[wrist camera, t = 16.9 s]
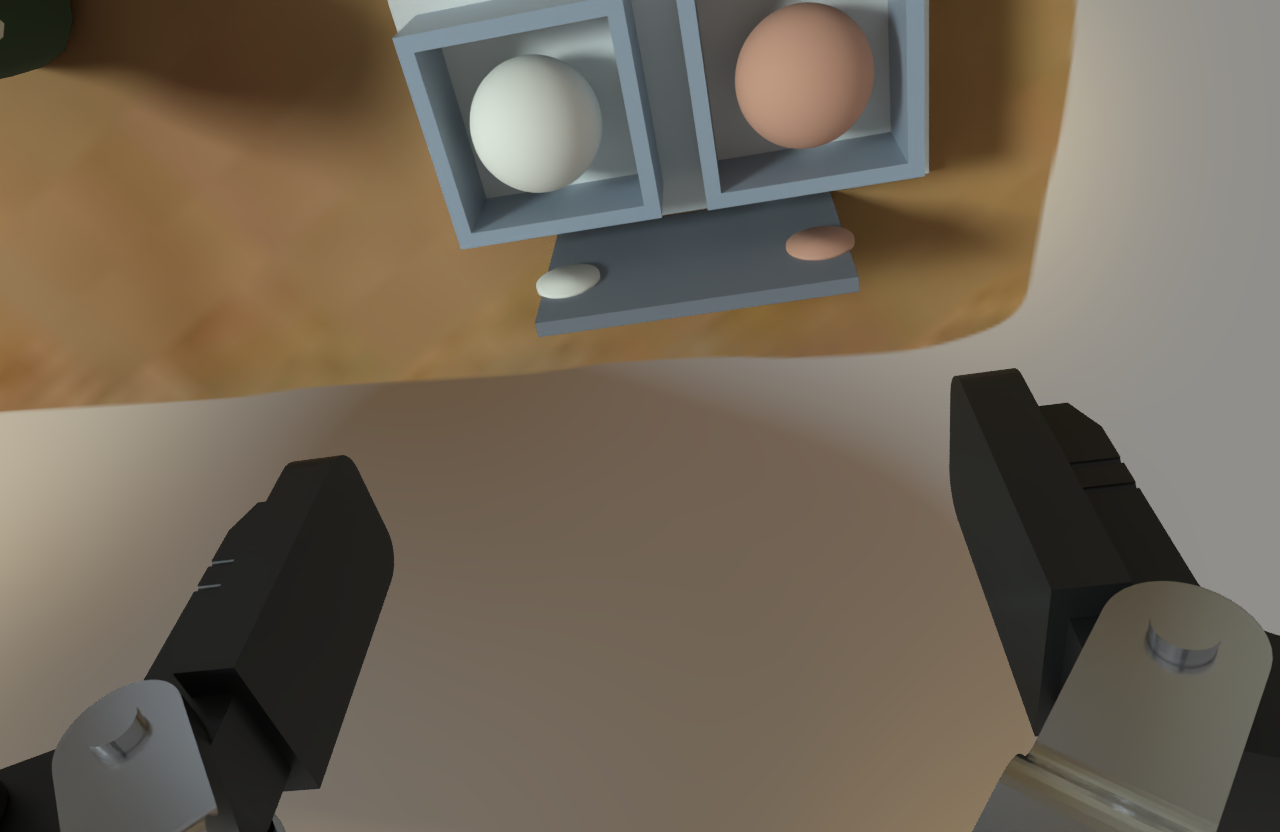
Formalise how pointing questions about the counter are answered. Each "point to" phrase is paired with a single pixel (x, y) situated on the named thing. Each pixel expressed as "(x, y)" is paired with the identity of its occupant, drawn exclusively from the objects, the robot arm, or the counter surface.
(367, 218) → the counter surface
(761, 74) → the terracotta ball
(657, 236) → the card
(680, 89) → the rack
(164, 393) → the counter surface
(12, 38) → the character mug
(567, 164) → the cream ball
